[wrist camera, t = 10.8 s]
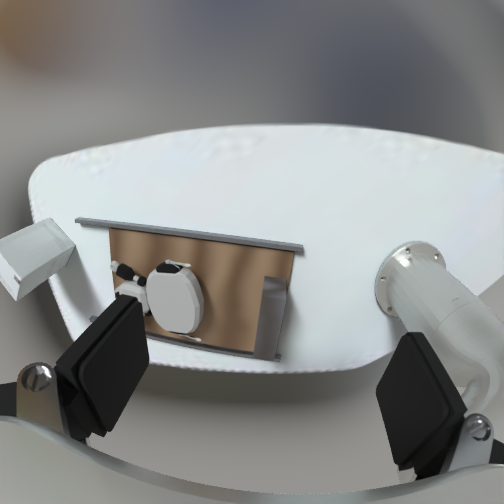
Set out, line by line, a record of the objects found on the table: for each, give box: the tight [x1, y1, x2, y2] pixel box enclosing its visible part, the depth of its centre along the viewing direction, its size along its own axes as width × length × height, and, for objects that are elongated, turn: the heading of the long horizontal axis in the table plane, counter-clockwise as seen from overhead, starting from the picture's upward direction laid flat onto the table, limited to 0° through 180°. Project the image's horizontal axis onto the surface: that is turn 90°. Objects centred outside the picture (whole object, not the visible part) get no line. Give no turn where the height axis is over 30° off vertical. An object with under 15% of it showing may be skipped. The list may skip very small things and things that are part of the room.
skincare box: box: [0, 218, 75, 301], centre depth 34 cm, size 8×6×15 cm
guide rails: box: [75, 217, 303, 362], centre depth 41 cm, size 36×20×1 cm, turn 84°
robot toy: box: [110, 260, 204, 341], centre depth 39 cm, size 12×4×15 cm
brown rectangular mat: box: [109, 227, 294, 361], centre depth 38 cm, size 28×18×6 cm, turn 84°
